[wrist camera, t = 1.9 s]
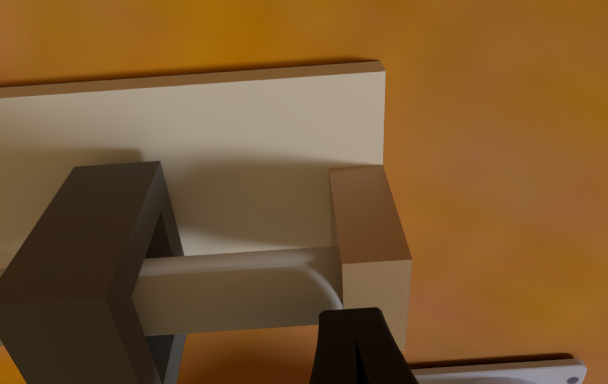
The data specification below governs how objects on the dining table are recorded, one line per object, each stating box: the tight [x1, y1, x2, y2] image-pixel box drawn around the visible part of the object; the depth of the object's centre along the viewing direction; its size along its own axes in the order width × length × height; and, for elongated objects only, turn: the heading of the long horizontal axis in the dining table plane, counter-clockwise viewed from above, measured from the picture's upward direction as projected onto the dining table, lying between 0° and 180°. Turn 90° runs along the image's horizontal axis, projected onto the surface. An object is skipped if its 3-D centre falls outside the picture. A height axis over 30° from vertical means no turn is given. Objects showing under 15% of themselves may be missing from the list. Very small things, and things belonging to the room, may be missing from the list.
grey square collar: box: [0, 161, 186, 384], centre depth 13 cm, size 2×5×5 cm, turn 3°
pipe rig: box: [0, 61, 412, 351], centre depth 15 cm, size 22×9×5 cm, turn 94°
